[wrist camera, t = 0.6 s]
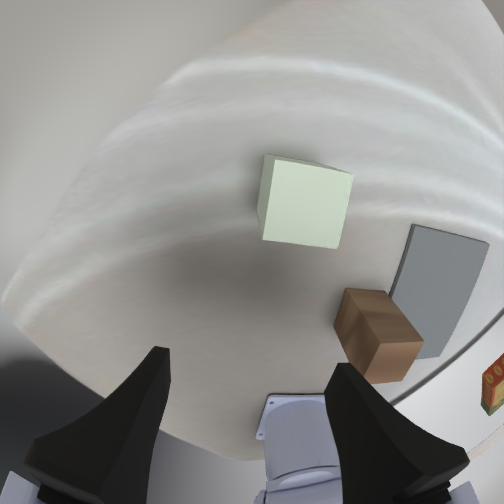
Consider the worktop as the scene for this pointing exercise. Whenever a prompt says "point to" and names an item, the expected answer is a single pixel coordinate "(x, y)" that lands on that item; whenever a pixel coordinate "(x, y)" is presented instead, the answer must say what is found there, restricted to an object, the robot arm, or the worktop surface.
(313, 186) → the sage block
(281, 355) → the worktop surface
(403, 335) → the walnut block
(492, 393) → the carton
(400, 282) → the mat
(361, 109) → the worktop surface
